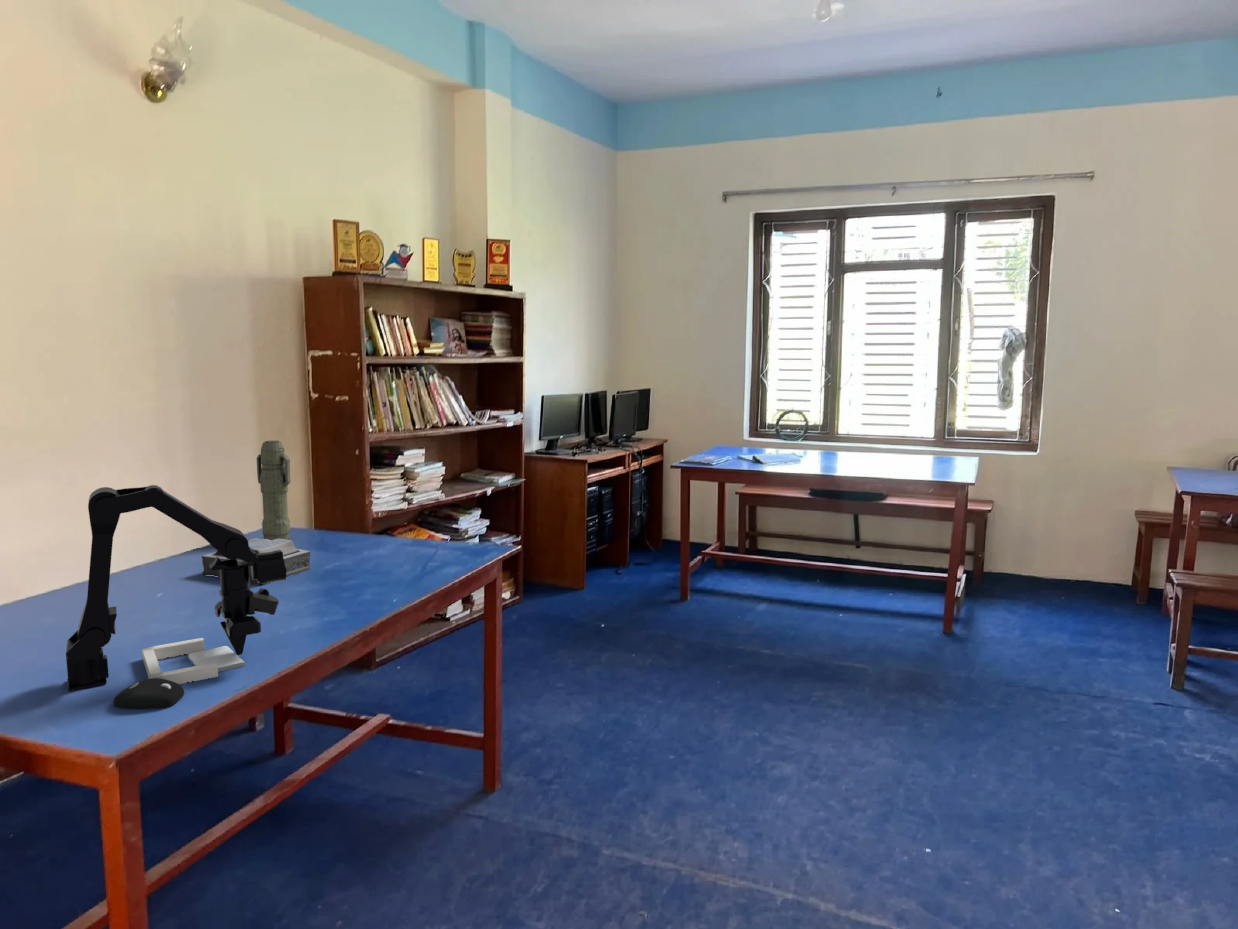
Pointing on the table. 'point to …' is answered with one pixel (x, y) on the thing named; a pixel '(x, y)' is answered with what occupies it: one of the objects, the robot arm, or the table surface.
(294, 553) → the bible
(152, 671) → the dock
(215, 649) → the external hard drive
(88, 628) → the robot arm
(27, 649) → the table surface
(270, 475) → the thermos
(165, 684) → the computer mouse
